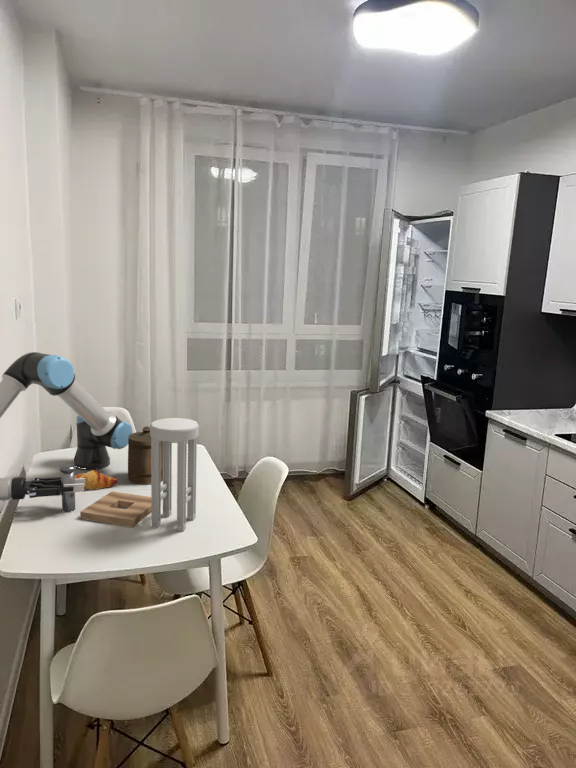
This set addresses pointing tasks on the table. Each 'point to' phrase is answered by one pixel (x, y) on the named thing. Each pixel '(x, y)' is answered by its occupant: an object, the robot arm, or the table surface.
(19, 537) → the table surface
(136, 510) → the keeper block
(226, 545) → the table surface
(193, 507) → the stool
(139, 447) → the wooden container
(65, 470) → the link pin
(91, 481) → the croissant
